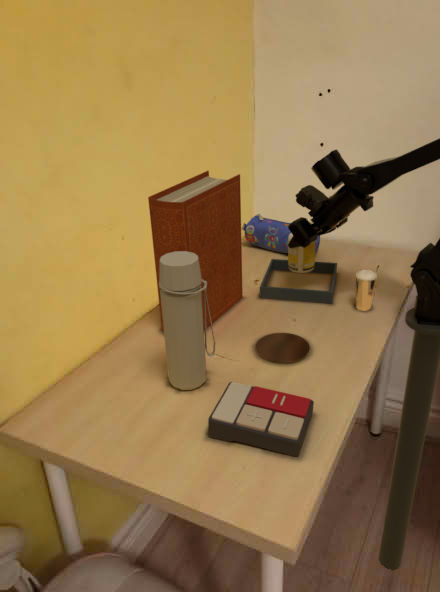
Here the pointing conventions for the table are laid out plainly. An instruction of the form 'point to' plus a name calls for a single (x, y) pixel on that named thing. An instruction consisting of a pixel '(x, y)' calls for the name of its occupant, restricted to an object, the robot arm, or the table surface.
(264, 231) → the pencil case
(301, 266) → the pill bottle
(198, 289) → the water bottle
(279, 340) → the coaster
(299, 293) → the dark grey square frame
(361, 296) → the milkshake
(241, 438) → the button control box
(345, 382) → the table surface
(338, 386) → the table surface
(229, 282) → the book
